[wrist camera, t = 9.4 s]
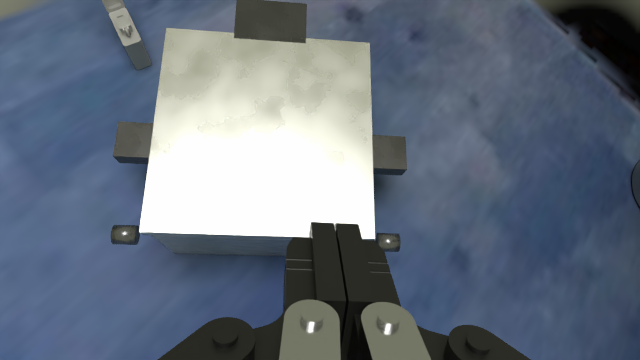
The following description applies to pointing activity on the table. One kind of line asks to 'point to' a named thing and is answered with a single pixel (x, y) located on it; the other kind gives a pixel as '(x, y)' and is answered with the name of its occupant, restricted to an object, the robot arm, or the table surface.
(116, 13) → the lighter
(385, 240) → the grey rectangular box
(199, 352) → the robot arm
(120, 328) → the table surface
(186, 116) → the lid
